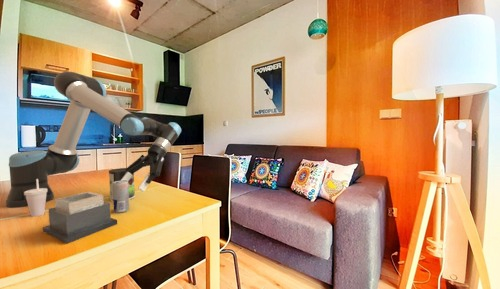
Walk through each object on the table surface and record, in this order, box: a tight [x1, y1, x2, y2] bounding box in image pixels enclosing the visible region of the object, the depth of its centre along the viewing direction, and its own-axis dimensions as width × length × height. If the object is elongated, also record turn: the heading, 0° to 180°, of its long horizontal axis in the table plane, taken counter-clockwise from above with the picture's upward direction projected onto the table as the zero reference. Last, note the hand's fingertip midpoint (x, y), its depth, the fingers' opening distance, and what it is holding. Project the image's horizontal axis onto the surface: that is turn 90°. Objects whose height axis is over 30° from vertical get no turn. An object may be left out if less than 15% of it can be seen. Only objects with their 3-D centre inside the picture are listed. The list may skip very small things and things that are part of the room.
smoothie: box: [24, 179, 48, 217], centre depth 79 cm, size 6×6×14 cm
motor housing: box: [42, 191, 118, 245], centre depth 68 cm, size 16×14×10 cm
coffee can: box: [108, 167, 136, 202], centre depth 99 cm, size 10×10×14 cm
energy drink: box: [112, 180, 130, 214], centre depth 83 cm, size 5×5×12 cm
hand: (130, 187), depth 85 cm, fingers open, 13 cm apart
